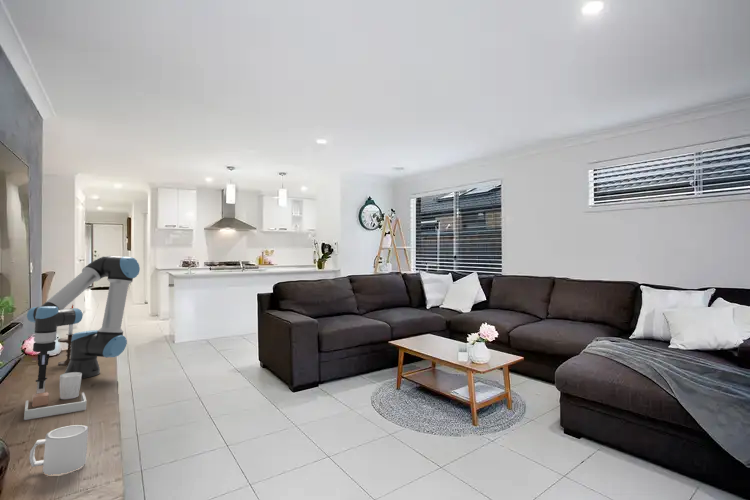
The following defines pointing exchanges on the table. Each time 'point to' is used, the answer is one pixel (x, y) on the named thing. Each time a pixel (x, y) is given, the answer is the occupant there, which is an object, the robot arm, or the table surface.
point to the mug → (62, 450)
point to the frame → (55, 409)
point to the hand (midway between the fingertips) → (40, 395)
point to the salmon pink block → (40, 399)
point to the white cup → (70, 385)
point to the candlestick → (68, 340)
